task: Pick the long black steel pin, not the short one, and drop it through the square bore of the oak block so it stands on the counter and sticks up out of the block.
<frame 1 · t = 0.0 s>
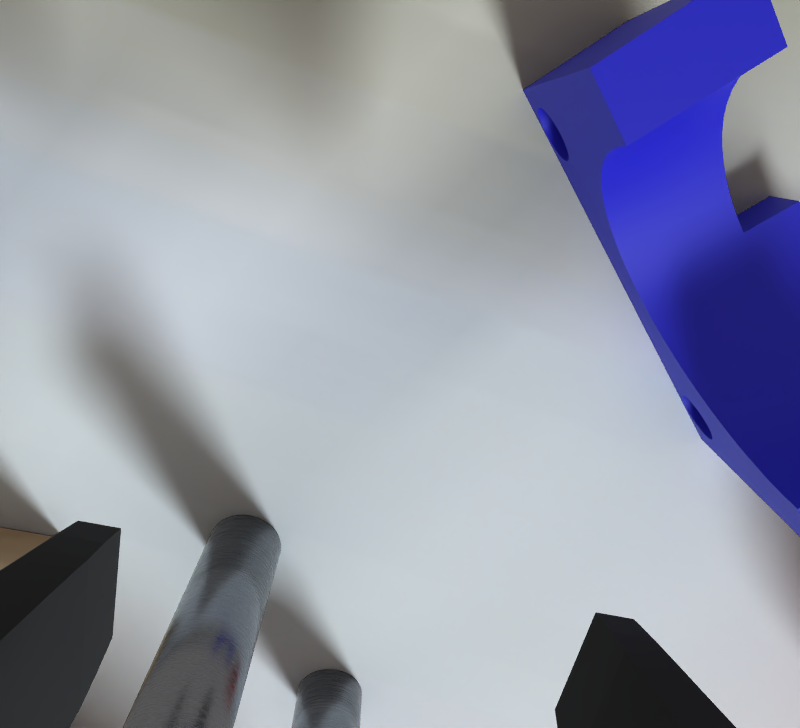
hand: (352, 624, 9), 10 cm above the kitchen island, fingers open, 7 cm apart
short pin: (329, 693, 23), on the kitchen island
cable clip: (687, 238, 18), on the kitchen island
long pin: (245, 545, 21), on the kitchen island
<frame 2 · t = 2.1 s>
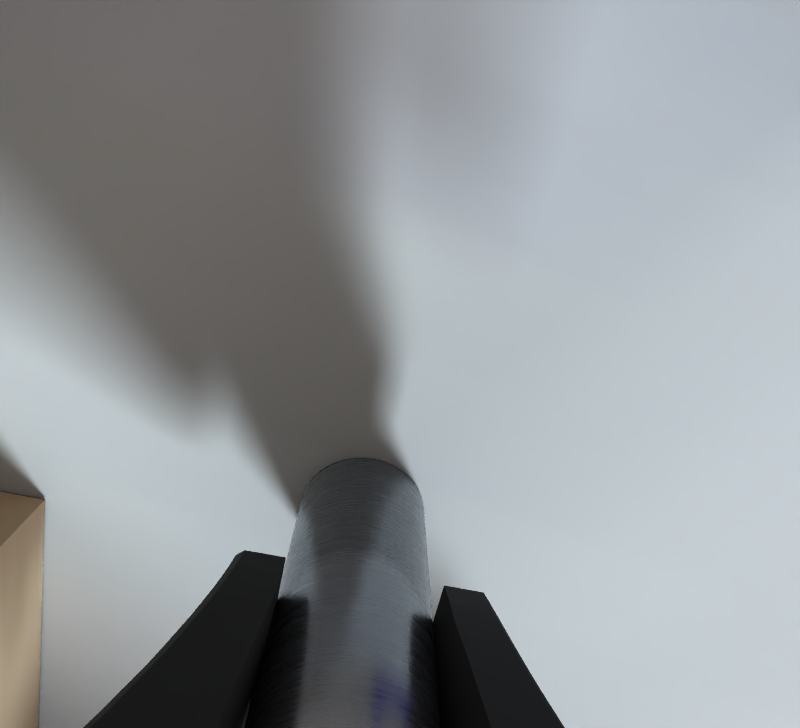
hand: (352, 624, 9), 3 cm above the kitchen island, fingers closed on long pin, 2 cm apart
long pin: (362, 512, 12), on the kitchen island, touching gripper
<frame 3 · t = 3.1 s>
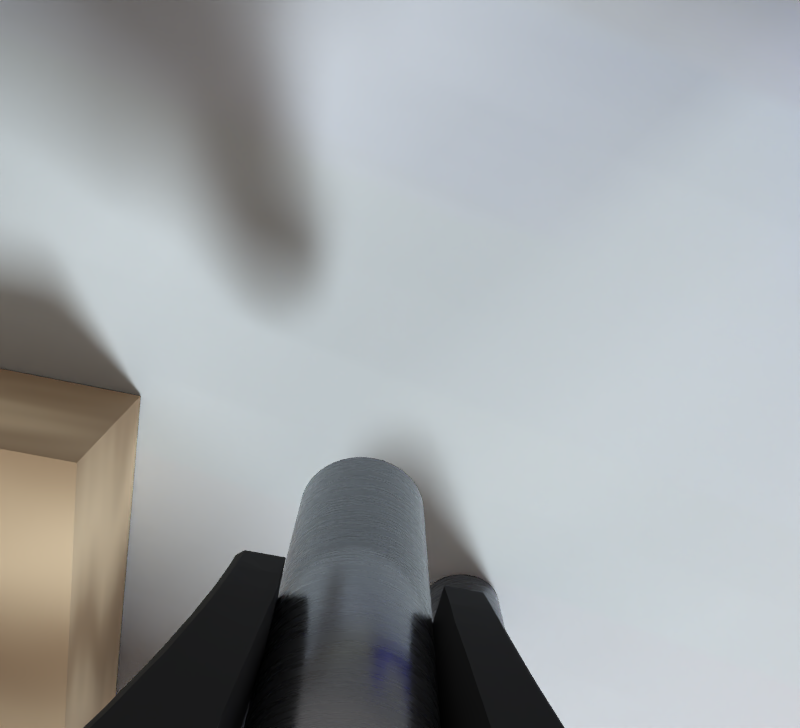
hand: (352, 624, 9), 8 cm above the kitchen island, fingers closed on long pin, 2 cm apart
short pin: (459, 606, 19), on the kitchen island
long pin: (362, 511, 12), point 5 cm above the kitchen island, touching gripper
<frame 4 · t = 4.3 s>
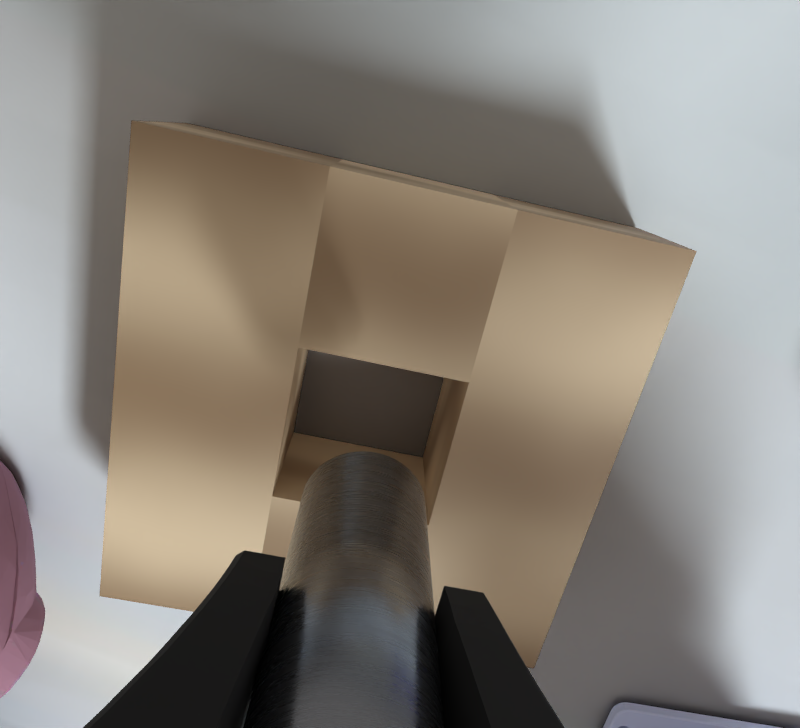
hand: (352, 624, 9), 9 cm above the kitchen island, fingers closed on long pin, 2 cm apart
bore block: (372, 385, 18), on the kitchen island
long pin: (363, 506, 12), point 6 cm above the kitchen island, touching gripper
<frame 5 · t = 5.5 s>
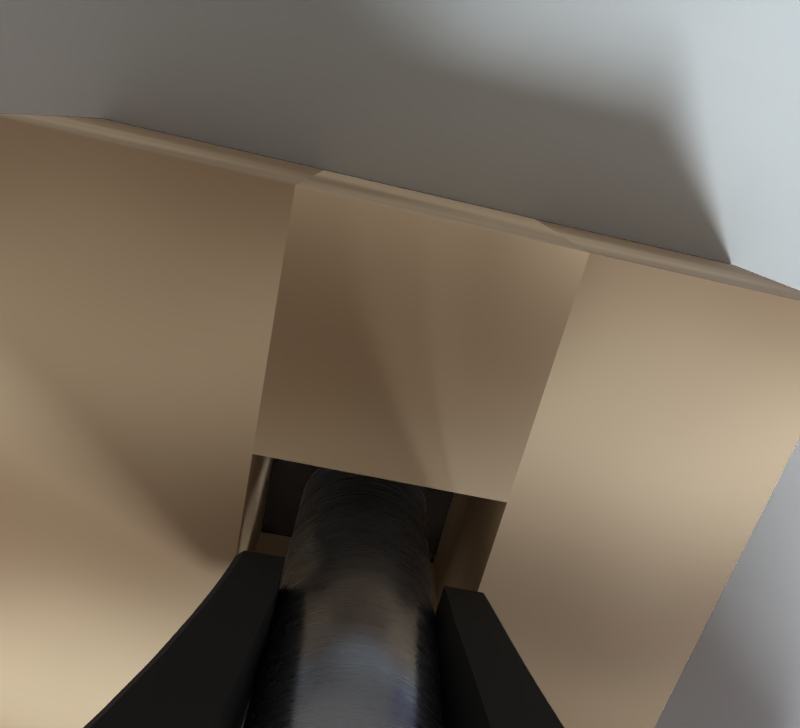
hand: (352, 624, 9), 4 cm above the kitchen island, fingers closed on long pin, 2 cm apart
bore block: (365, 472, 13), on the kitchen island
long pin: (363, 506, 12), point 2 cm above the kitchen island, touching gripper
when the fingers open (4 cm above the kitchen island, at t = 6.4 s): long pin drops 1 cm, resting in bore block.
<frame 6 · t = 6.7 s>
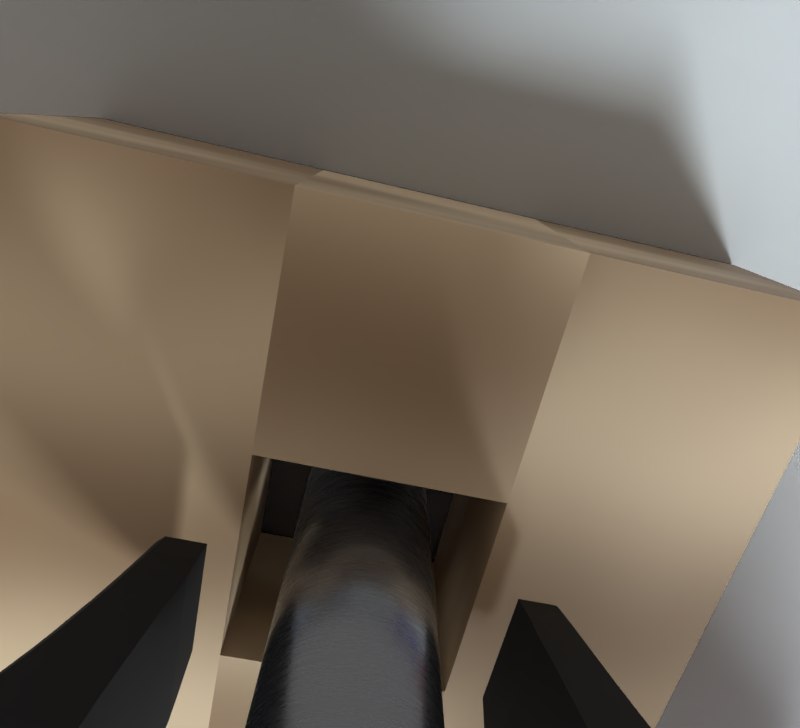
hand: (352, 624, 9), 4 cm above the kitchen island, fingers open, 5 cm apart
bore block: (365, 473, 13), on the kitchen island
long pin: (368, 467, 13), resting in bore block
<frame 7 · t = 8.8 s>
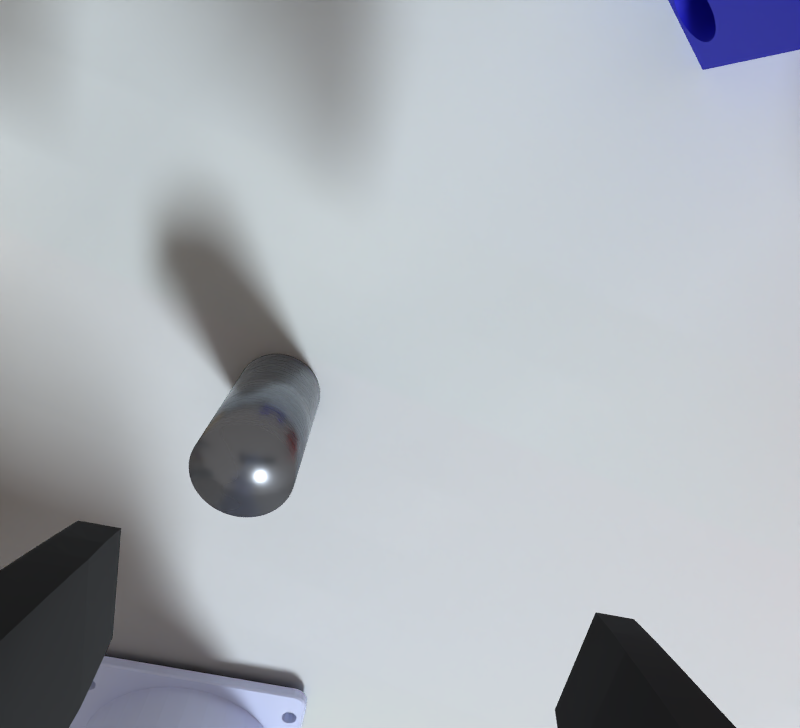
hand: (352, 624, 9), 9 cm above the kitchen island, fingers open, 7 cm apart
short pin: (279, 392, 18), on the kitchen island
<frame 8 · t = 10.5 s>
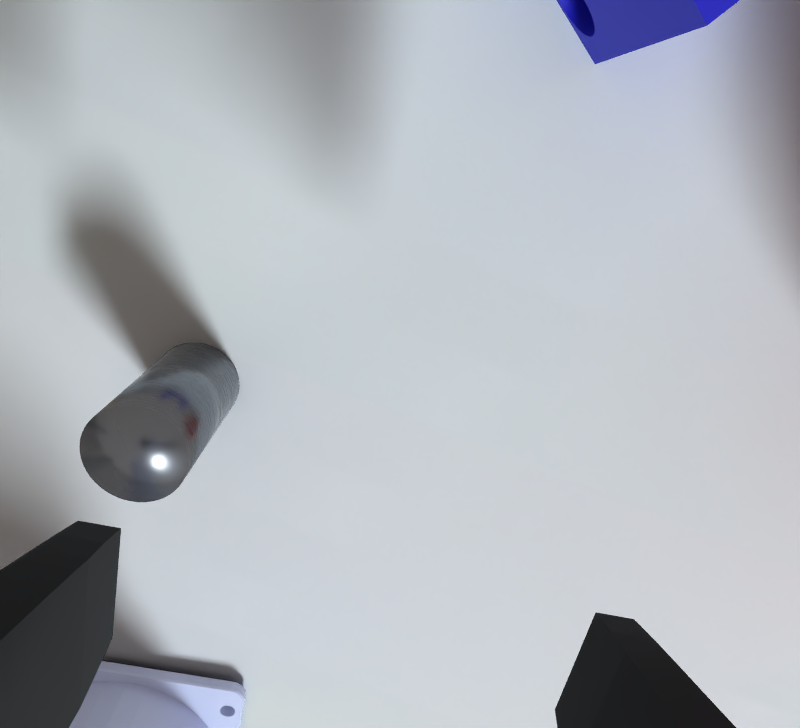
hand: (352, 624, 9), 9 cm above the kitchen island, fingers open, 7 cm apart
short pin: (198, 382, 18), on the kitchen island
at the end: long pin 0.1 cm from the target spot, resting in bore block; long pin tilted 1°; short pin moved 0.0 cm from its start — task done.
